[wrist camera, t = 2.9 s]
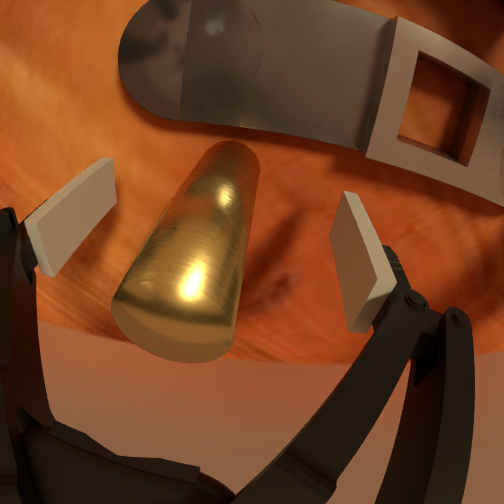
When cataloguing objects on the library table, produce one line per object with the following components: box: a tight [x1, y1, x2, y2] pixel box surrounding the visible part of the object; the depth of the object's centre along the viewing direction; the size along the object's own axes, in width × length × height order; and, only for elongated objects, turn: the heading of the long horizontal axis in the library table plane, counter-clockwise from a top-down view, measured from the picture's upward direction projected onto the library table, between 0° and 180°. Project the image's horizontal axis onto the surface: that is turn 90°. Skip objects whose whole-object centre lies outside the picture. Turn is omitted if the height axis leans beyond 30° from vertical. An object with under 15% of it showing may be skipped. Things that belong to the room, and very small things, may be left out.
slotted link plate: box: [118, 0, 504, 207], centre depth 12 cm, size 31×8×2 cm, turn 82°
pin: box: [111, 140, 260, 363], centre depth 13 cm, size 4×4×12 cm
